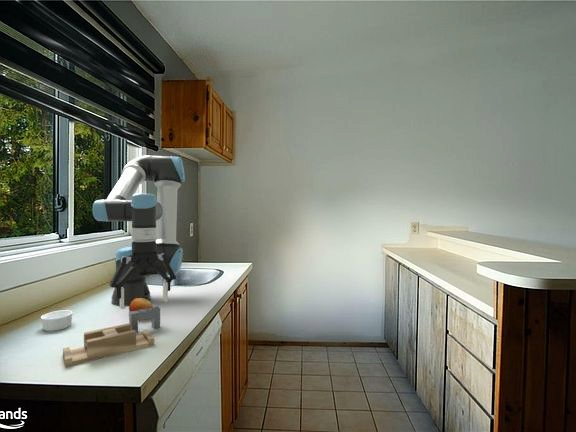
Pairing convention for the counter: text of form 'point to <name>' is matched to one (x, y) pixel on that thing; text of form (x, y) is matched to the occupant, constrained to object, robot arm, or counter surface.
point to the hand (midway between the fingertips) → (144, 304)
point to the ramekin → (56, 320)
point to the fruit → (140, 304)
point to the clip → (145, 317)
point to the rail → (107, 344)
